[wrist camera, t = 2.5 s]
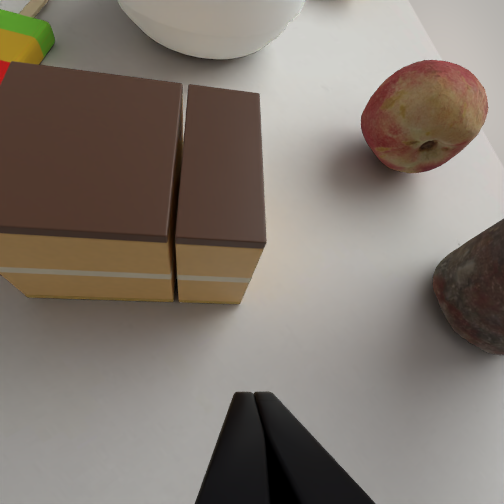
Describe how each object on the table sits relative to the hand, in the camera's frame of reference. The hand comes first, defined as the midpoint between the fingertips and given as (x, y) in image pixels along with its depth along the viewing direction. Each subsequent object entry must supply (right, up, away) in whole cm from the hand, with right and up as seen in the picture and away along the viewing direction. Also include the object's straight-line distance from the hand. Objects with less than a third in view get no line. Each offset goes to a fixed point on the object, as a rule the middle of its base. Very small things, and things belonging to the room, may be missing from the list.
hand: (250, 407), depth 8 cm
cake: (-9, +5, +14) cm, 17 cm away
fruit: (+12, +11, +22) cm, 27 cm away
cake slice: (-3, +6, +16) cm, 17 cm away
